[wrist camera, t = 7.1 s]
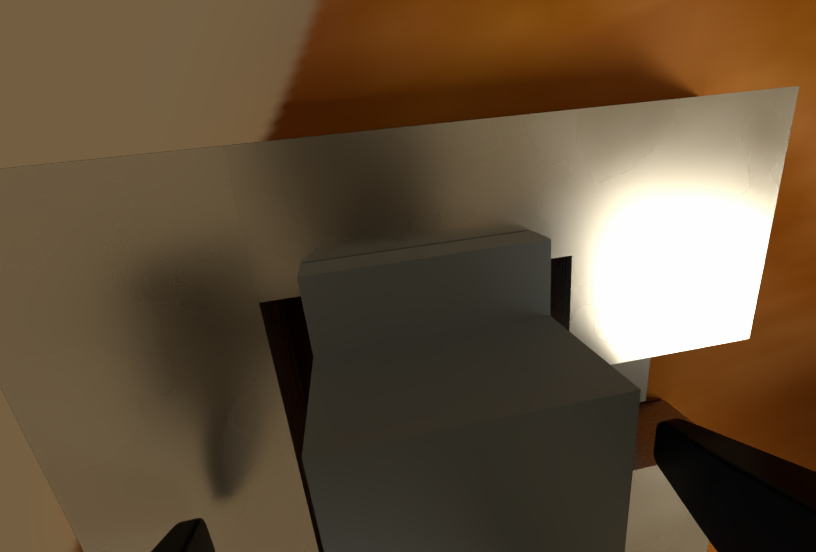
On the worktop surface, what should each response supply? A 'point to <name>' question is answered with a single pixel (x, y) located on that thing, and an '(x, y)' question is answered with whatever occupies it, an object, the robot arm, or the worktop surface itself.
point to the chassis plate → (343, 237)
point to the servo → (461, 406)
